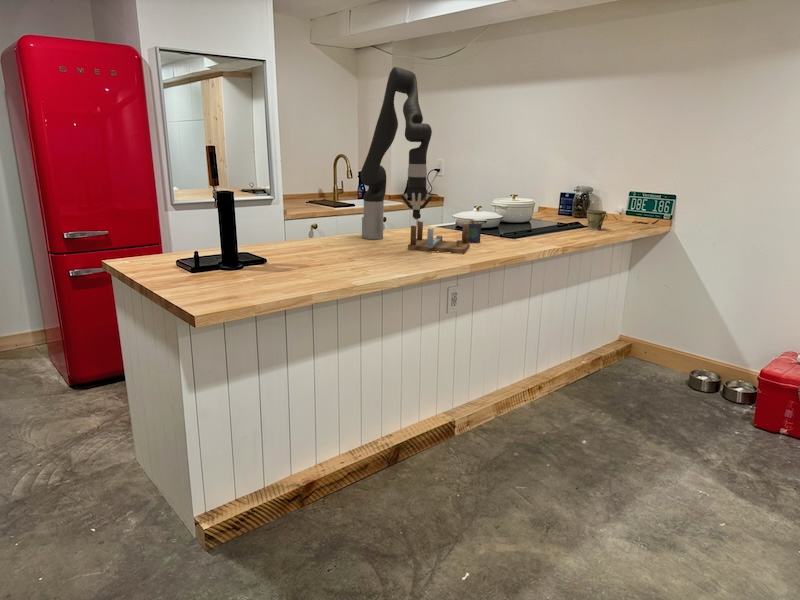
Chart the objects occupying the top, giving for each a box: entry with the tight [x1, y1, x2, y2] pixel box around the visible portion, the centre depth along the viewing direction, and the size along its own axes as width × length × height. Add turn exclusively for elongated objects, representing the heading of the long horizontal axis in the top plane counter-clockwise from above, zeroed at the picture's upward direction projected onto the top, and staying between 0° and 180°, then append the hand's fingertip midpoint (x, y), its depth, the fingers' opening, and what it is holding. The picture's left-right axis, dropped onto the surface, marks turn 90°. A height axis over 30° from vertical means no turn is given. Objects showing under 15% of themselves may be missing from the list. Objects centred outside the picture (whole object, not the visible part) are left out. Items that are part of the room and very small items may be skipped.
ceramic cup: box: [586, 209, 608, 231], centre depth 300 cm, size 13×10×10 cm
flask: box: [461, 218, 483, 244], centre depth 256 cm, size 9×3×11 cm, turn 109°
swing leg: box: [426, 228, 443, 248], centre depth 238 cm, size 18×3×8 cm, turn 162°
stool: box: [407, 220, 471, 255], centre depth 241 cm, size 24×16×10 cm, turn 75°
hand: (416, 218), depth 230 cm, fingers closed
